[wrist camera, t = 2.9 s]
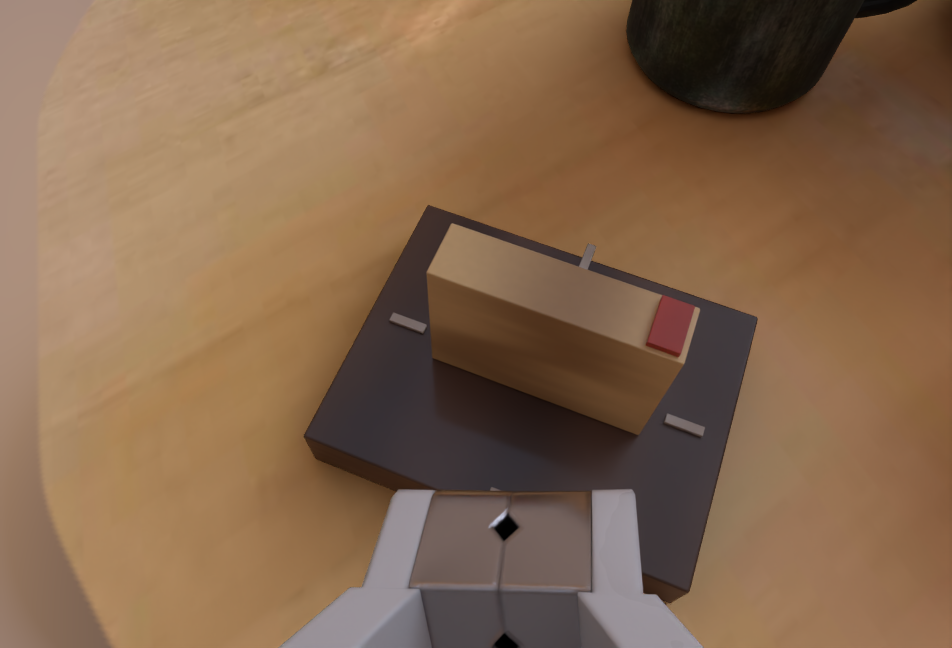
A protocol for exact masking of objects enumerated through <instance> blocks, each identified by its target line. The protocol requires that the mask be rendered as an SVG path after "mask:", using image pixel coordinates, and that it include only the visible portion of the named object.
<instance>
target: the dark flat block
mask: <svg viewBox="0 0 952 648" xmlns="http://www.w3.org/2000/svg"><path fill="white" fill-rule="evenodd" d="M452 223H453V224H456V225H459V226H462V227H465V228H468V229H470V230H473V231H476V232H479V233H482V234H485V235H488V236H491V237H494V238H497V239H500V240H502V241H505V242H508V243H511V244H514V245H517V246H520V247H523V248H526V249H529V250H532V251H534V252H537V253H540V254H543V255H546V256H549V257H552V258H555V259H558V260H561V261H564V262H567V263H569V264H572V265H575V266H578V267H581V268H584V269H587V270H590V271H593V272H596V273H599V274H601V275H604V276H607V277H610V278H613V279H616V280H619V281H622V282H625V283H628V284H631V285H633V286H636V287H639V288H642V289H645V290H648V291H651V292H654V293H657V294H660V295H664V296H667V297H670V298H673V299H676V300H679V301H682V302H685V303H688V304H691V305H694V306H695V307H698V308H700V313H699V316H698V319H697V323H696V326H695V330H694V333H693V336H692V340H691V343H690V346H689V350H688V353H687V357H686V360H685V363H684V365H683V367H682V368H681V370H680V372H679V373H678V375H677V376H676V378H675V379H674V381H673V382H672V384H671V386H670V387H669V389H668V390H667V392H666V393H665V395H664V397H663V398H662V400H661V401H660V403H659V404H658V406H657V408H656V409H655V411H654V412H653V414H652V415H651V417H650V419H649V420H648V422H647V423H646V425H645V426H644V428H643V430H642V431H641V433H640V434H639V435H636V434H634V433H631V432H628V431H626V430H623V429H620V428H618V427H615V426H612V425H610V424H607V423H604V422H602V421H599V420H596V419H594V418H591V417H588V416H586V415H583V414H580V413H578V412H575V411H572V410H570V409H567V408H564V407H562V406H559V405H556V404H554V403H551V402H548V401H546V400H543V399H540V398H538V397H535V396H532V395H530V394H527V393H524V392H522V391H519V390H516V389H514V388H511V387H508V386H506V385H503V384H500V383H498V382H495V381H492V380H490V379H487V378H484V377H482V376H479V375H476V374H474V373H471V372H468V371H466V370H463V369H461V368H458V367H455V366H453V365H450V364H447V363H445V362H442V361H439V360H437V359H434V358H432V348H431V333H430V318H429V303H428V287H427V270H428V268H429V266H430V264H431V262H432V260H433V258H434V256H435V254H436V253H437V251H438V249H439V247H440V245H441V243H442V241H443V239H444V237H445V235H446V233H447V231H448V229H449V227H450V225H451V224H452ZM595 249H596V246H595V245H592V244H589V243H588V245H587V247H586V250H585V252H584V255H583V257H579V256H576V255H573V254H570V253H567V252H565V251H562V250H559V249H556V248H553V247H550V246H547V245H544V244H541V243H538V242H535V241H532V240H529V239H526V238H524V237H521V236H518V235H515V234H512V233H509V232H506V231H503V230H500V229H497V228H494V227H491V226H488V225H485V224H482V223H480V222H477V221H474V220H471V219H468V218H465V217H462V216H459V215H456V214H453V213H450V212H447V211H444V210H441V209H439V208H436V207H433V206H430V205H428V206H427V207H426V209H425V211H424V213H423V215H422V217H421V219H420V220H419V222H418V224H417V226H416V228H415V230H414V232H413V233H412V235H411V237H410V239H409V241H408V243H407V245H406V246H405V248H404V250H403V252H402V254H401V256H400V258H399V259H398V261H397V263H396V265H395V267H394V269H393V271H392V272H391V274H390V276H389V278H388V280H387V282H386V284H385V285H384V287H383V289H382V291H381V293H380V295H379V297H378V298H377V300H376V302H375V304H374V306H373V308H372V310H371V311H370V313H369V315H368V317H367V319H366V321H365V323H364V324H363V326H362V328H361V330H360V332H359V334H358V336H357V337H356V339H355V341H354V343H353V345H352V347H351V349H350V350H349V352H348V354H347V356H346V358H345V360H344V362H343V363H342V365H341V367H340V369H339V371H338V373H337V375H336V376H335V378H334V380H333V382H332V384H331V386H330V388H329V389H328V391H327V393H326V395H325V397H324V399H323V401H322V402H321V404H320V406H319V408H318V410H317V412H316V414H315V415H314V417H313V419H312V421H311V423H310V425H309V427H308V428H307V430H306V432H305V434H304V438H305V440H306V442H307V444H308V446H309V447H310V449H311V451H312V453H313V455H314V457H315V458H316V459H318V460H321V461H323V462H326V463H328V464H330V465H333V466H335V467H338V468H340V469H343V470H345V471H347V472H350V473H352V474H355V475H357V476H360V477H362V478H365V479H367V480H369V481H372V482H374V483H377V484H379V485H382V486H384V487H387V488H389V489H391V490H394V491H396V492H397V490H398V489H410V490H435V491H436V490H437V489H441V490H483V491H591V495H592V490H616V489H632V490H633V492H634V493H635V498H636V511H637V523H638V535H639V547H640V559H641V571H642V584H643V593H645V594H655V595H657V596H658V597H659V598H660V599H661V600H662V601H665V602H667V603H671V602H672V601H674V600H676V599H678V598H680V597H681V596H683V595H685V594H687V593H688V592H689V591H690V587H691V583H692V579H693V575H694V571H695V567H696V563H697V559H698V555H699V551H700V547H701V543H702V539H703V535H704V532H705V528H706V524H707V520H708V516H709V512H710V508H711V504H712V500H713V496H714V492H715V488H716V484H717V480H718V476H719V472H720V468H721V464H722V460H723V456H724V452H725V448H726V444H727V440H728V436H729V432H730V428H731V424H732V420H733V416H734V412H735V408H736V404H737V400H738V396H739V392H740V388H741V384H742V380H743V376H744V372H745V368H746V364H747V360H748V356H749V352H750V348H751V344H752V340H753V336H754V332H755V328H756V324H757V320H758V319H757V317H755V316H752V315H749V314H746V313H743V312H740V311H737V310H735V309H732V308H729V307H726V306H723V305H720V304H717V303H714V302H711V301H708V300H705V299H702V298H699V297H696V296H694V295H691V294H688V293H685V292H682V291H679V290H676V289H673V288H670V287H667V286H664V285H661V284H658V283H655V282H652V281H650V280H647V279H644V278H641V277H638V276H635V275H632V274H629V273H626V272H623V271H620V270H617V269H614V268H611V267H609V266H606V265H603V264H600V263H597V262H594V261H591V260H592V257H593V254H594V252H595Z"/></svg>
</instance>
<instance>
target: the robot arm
mask: <svg viewBox="0 0 952 648" xmlns="http://www.w3.org/2000/svg"><path fill="white" fill-rule="evenodd" d="M278 648H704V647H703V646H702V645H701V644H700V643H699V642H698V641H697V640H696V638H695V637H694V636H693V635H692V634H691V633H690V632H689V631H688V629H687V628H686V627H685V626H684V625H683V624H682V623H681V622H680V620H679V619H678V618H677V617H676V616H675V615H674V614H673V613H672V611H671V610H670V609H669V608H668V607H667V606H666V605H665V604H664V602H663V601H662V600H661V599H660V598H659V597H658V596H657V595H655V594H643V584H642V571H641V559H640V547H639V535H638V523H637V511H636V498H635V493H634V492H633V490H632V489H616V490H592V495H591V491H483V490H441V489H437V490H436V491H435V490H410V489H398V490H397V492H396V493H395V494H394V495H393V496H392V498H391V501H390V504H389V507H388V510H387V513H386V515H385V518H384V521H383V524H382V527H381V530H380V533H379V536H378V539H377V542H376V545H375V548H374V551H373V554H372V557H371V560H370V563H369V566H368V569H367V572H366V575H365V578H364V581H363V584H362V587H350V588H348V589H347V590H346V591H345V592H344V593H342V594H341V595H340V596H339V597H338V598H336V599H335V600H334V601H333V602H332V603H331V604H329V605H328V606H327V607H326V608H325V609H323V610H322V611H321V612H320V613H319V614H317V615H316V616H315V617H314V618H313V619H312V620H310V621H309V622H308V623H307V624H306V625H304V626H303V627H302V628H301V629H300V630H299V631H297V632H296V633H295V634H294V635H293V636H291V637H290V638H289V639H288V640H287V641H285V642H284V643H283V644H282V645H281V646H280V647H278Z"/></svg>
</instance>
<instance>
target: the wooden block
mask: <svg viewBox="0 0 952 648" xmlns="http://www.w3.org/2000/svg"><path fill="white" fill-rule="evenodd" d="M427 287H428V303H429V318H430V333H431V348H432V358H434V359H437V360H439V361H442V362H445V363H447V364H450V365H453V366H455V367H458V368H461V369H463V370H466V371H468V372H471V373H474V374H476V375H479V376H482V377H484V378H487V379H490V380H492V381H495V382H498V383H500V384H503V385H506V386H508V387H511V388H514V389H516V390H519V391H522V392H524V393H527V394H530V395H532V396H535V397H538V398H540V399H543V400H546V401H548V402H551V403H554V404H556V405H559V406H562V407H564V408H567V409H570V410H572V411H575V412H578V413H580V414H583V415H586V416H588V417H591V418H594V419H596V420H599V421H602V422H604V423H607V424H610V425H612V426H615V427H618V428H620V429H623V430H626V431H628V432H631V433H634V434H636V435H639V434H640V433H641V431H642V430H643V428H644V426H645V425H646V423H647V422H648V420H649V419H650V417H651V415H652V414H653V412H654V411H655V409H656V408H657V406H658V404H659V403H660V401H661V400H662V398H663V397H664V395H665V393H666V392H667V390H668V389H669V387H670V386H671V384H672V382H673V381H674V379H675V378H676V376H677V375H678V373H679V372H680V370H681V368H682V367H683V365H684V363H685V360H686V357H687V353H688V350H689V346H690V343H691V340H692V336H693V333H694V330H695V326H696V323H697V319H698V316H699V313H700V308H698V307H695V306H694V305H691V304H688V303H685V302H682V301H679V300H676V299H673V298H670V297H667V296H664V295H660V294H657V293H654V292H651V291H648V290H645V289H642V288H639V287H636V286H633V285H631V284H628V283H625V282H622V281H619V280H616V279H613V278H610V277H607V276H604V275H601V274H599V273H596V272H593V271H590V270H587V269H584V268H581V267H578V266H575V265H572V264H569V263H567V262H564V261H561V260H558V259H555V258H552V257H549V256H546V255H543V254H540V253H537V252H534V251H532V250H529V249H526V248H523V247H520V246H517V245H514V244H511V243H508V242H505V241H502V240H500V239H497V238H494V237H491V236H488V235H485V234H482V233H479V232H476V231H473V230H470V229H468V228H465V227H462V226H459V225H456V224H453V223H452V224H451V225H450V227H449V229H448V231H447V233H446V235H445V237H444V239H443V241H442V243H441V245H440V247H439V249H438V251H437V253H436V254H435V256H434V258H433V260H432V262H431V264H430V266H429V268H428V270H427Z"/></svg>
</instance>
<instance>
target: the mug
mask: <svg viewBox="0 0 952 648" xmlns="http://www.w3.org/2000/svg"><path fill="white" fill-rule="evenodd" d="M915 1H917V0H632V4H631V8H630V12H629V16H628V20H627V30H626V32H627V39H628V43H629V46H630V49H631V51H632V54H633V56H634V58H635V59H636V61H637V63H638V64H639V66H640V68H641V69H642V71H643V72H644V73H645V74H646V75H647V76H648V77H649V79H650V80H652V81H653V82H654V83H655V84H656V85H657V86H659V87H660V88H661V89H663V90H664V91H666V92H667V93H669V94H670V95H672V96H674V97H676V98H678V99H680V100H682V101H684V102H686V103H689V104H692V105H695V106H698V107H701V108H705V109H709V110H713V111H719V112H727V113H753V112H762V111H766V110H770V109H774V108H777V107H779V106H782V105H784V104H787V103H789V102H791V101H794V100H796V99H797V98H799V97H801V96H802V95H804V94H806V93H807V92H808V91H809V90H810V89H811V88H813V87H814V86H815V85H816V83H817V82H818V81H819V79H820V78H821V76H822V75H823V73H824V71H825V69H826V68H827V66H828V64H829V62H830V61H831V59H832V57H833V55H834V54H835V52H836V50H837V48H838V47H839V45H840V43H841V41H842V39H843V38H844V36H845V34H846V32H847V31H848V29H849V27H850V25H851V24H852V22H853V20H854V18H863V17H869V16H874V15H880V14H886V13H889V12H892V11H895V10H898V9H900V8H903V7H906V6H909V5H910V4H912V3H913V2H915Z"/></svg>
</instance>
